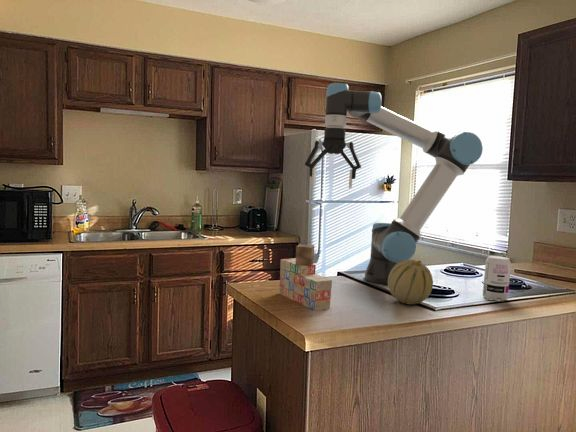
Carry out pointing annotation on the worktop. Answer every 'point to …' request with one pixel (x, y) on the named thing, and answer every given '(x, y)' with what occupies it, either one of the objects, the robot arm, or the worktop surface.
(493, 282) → the supplement can
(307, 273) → the stack of blocks
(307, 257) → the walnut block
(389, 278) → the cantaloupe
